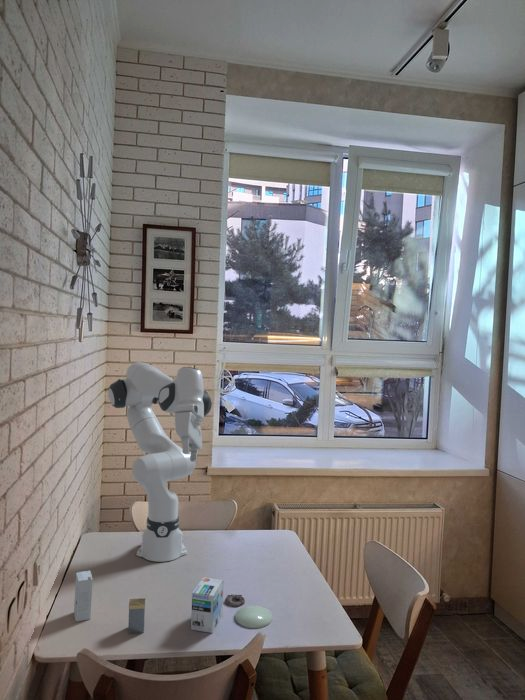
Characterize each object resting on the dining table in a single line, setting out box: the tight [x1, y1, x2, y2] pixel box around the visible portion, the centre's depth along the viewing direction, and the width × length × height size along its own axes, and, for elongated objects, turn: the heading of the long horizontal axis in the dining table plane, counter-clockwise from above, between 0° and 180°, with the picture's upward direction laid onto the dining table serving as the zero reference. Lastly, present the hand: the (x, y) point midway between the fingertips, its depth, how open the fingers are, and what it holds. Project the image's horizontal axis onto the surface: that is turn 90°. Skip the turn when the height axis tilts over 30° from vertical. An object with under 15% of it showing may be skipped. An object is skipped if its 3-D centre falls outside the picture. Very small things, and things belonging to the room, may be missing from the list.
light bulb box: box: [190, 576, 224, 634], centre depth 155 cm, size 11×7×11 cm, turn 168°
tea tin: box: [127, 597, 146, 635], centre depth 150 cm, size 4×4×8 cm
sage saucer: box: [235, 605, 273, 629], centre depth 158 cm, size 11×11×1 cm
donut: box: [224, 594, 246, 608], centre depth 167 cm, size 8×8×2 cm
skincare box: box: [73, 570, 94, 622], centre depth 156 cm, size 6×4×12 cm
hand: (189, 457), depth 162 cm, fingers open, 8 cm apart
